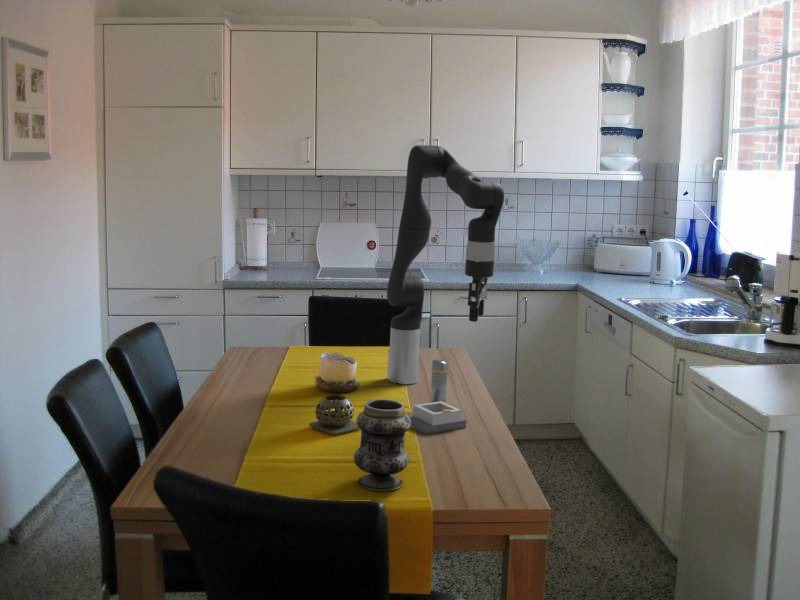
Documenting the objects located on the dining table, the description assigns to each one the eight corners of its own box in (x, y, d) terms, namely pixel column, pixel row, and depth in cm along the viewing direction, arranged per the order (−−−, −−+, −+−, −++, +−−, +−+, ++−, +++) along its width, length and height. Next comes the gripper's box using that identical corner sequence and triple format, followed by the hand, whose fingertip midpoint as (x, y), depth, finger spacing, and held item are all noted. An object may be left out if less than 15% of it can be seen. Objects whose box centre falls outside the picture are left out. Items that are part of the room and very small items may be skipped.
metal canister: (426, 408, 250) (428, 360, 248) (439, 406, 253) (442, 358, 250) (435, 412, 247) (438, 364, 244) (449, 410, 249) (451, 362, 247)
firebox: (402, 422, 237) (403, 402, 236) (441, 416, 244) (442, 396, 243) (425, 434, 228) (427, 413, 227) (466, 427, 235) (467, 407, 234)
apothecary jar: (418, 488, 191) (422, 408, 188) (370, 497, 185) (374, 415, 182) (389, 470, 201) (392, 393, 198) (342, 478, 195) (345, 399, 192)
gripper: (471, 254, 241) (467, 312, 244) (460, 260, 227) (457, 321, 230) (498, 256, 239) (494, 315, 242) (489, 262, 225) (485, 324, 228)
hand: (476, 318), depth 236 cm, fingers open, 8 cm apart
